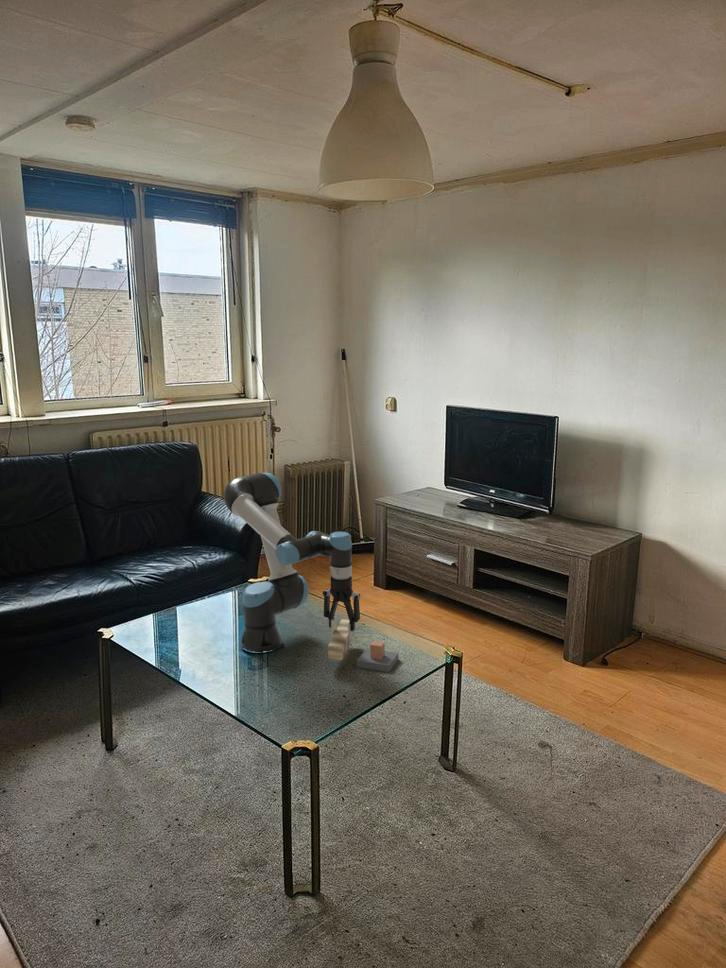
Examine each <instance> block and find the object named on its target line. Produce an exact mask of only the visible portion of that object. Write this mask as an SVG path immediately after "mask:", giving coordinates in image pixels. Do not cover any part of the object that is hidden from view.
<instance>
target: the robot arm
mask: <svg viewBox="0 0 726 968" xmlns="http://www.w3.org/2000/svg"><path fill="white" fill-rule="evenodd" d="M223 491H224V492H223V501H224V505H225V506H226V507H227V509H228V510H229V511H230V513H231V514H232V515H234V516H235V517H240V518H241V519H242V520H243V521H244V522H246V523H247V524H248V526H250V527H251V528H252V529H253V530H254V531H255V533H257V534H258V535H260V539H261V542H262V545H263V549H264V554H265V557H266V560H267V561H266V562H267V565H268V568H269V571H270V575H269V577H268V579H267V580H268V581H261V582H259V581H258V582H254V583H252V584H249V585H248V586H247V587H245V588H244V590H243V591H242V592H243V593H242V600H241V601H242V605H243V619H244V620H243V621H244V628H243V629H244V630H243V632H242V636H241V640H240V646H241V645H242V647H243V648H245V649H247V650H250V651H255V652H263V651H270V650H274V649H277V648H278V647H279V648H281V646H282V637H281V633H280V632H279V631H280V630H279V628H278V626H277V619H276V616H277V615H279V614H280V615H281V614H282V613H284V612H287V611H290V610H293V609H297V608H299V607H301V606H303V605H304V604H305V603H306V602H307V600H308V597H309V586H308V582H307V580H306V579H305V577H304V576H302V575H300V574H299V572H298V571H297V570H296V569H294V568H293V565H294V564H297V563H298V562H301V561H302V562H303V561H305V560H306V561H307V560H309V559H312V558H315V557H319V556H324V557H328V558H329V561H330V562H329V565H330V573H329V574H330V588H329V589H328V588H327V589H325V590H323V591H322V596H323V617H324V618H327V619H328V626H329V628H330V629H331V630H330V631H331V633H330V635H331V638H332V637H333V635H334V633H335V631H336V629H337V617H335V615H336V611H337V607H338V604H339V603H340V602H341V603H343V606H345V607H344V608H345V611H346V614H347V616H348V620H349V622H348V640H351V639H352V640H353V638H354V636H353V631H354V630H355V631H356V623H358V622H359V621H361V620H360V619H361V609H360V598H361V594H360V593H356V592H354V591H353V577H352V575H353V569H352V567H353V565H352V563H353V561H352V559H353V558H352V557H353V556H352V549H353V543H352V535H351V534H350V533H349V532H346V531H334V532H332V533H330V534H328V533H324V532H322V531H316V530H312V531H310V532H308V534H306V535H305V537H301V538H298V539H297V538H296V537H294V536H293V535H292V534H291V533H290V532H289V531H288V530H287V529H285V528H284V527H283V526H282V525H281V521H280V518H279V514H278V511H277V509H278V506H279V504H280V503H279V502H280V501H279V499H280V498H281V496H282V487H281V482H280V480H279V479H278V478H277V477H276V476H275V475H274V474H273V473H270V472H258V473H254V474H249V475H243V476H238V477H235V478H233V479H231V480H230V481H229V482H228V483H227V484H226V486H225V488H224V490H223ZM331 596H332V597H333V599H332V603H331ZM351 597H352V600H353V602H352V601H351ZM352 603H353V604H352ZM330 604H331V605H330ZM352 605H353V606H352ZM352 640H351V641H352ZM279 648H278V649H279ZM278 649H277V650H278ZM274 651H275V650H274Z"/></svg>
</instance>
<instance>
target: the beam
mask: <svg viewBox="0 0 726 968" xmlns="http://www.w3.org/2000/svg"><path fill="white" fill-rule="evenodd" d="M348 622H349V619H344V618H343V619H341V618H340V621H339V624H338V626H336V631H335V633H334V635H333V637H331V639H330V641H329V643H328V645H327V652H328V653H327V654H328V655H327V657H328V660H338V661H343V660H344V658H345V655H346V653H347V651H348V648H349V646H350V645H351V642H352V641H353V638H352V639H351V640H348ZM355 633H356V629H355V630H354V631H353V637H354V635H355Z"/></svg>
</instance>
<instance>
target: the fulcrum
mask: <svg viewBox="0 0 726 968" xmlns="http://www.w3.org/2000/svg"><path fill="white" fill-rule="evenodd" d="M385 648H386V647H385V641H380V640H379V641H378V640H373V641H372V642H371V644H369V648H366V649H365V650H364V651H363V652H362V654H361V655H360V656H359V657H358V658H357V659H356V668H362V669H365V670H366V669H367V670H373V671H380V672H385V673H386V672H387V673H390V672H391V670H392V669H393V668H394V667H395V665H396V664H397V663H398V661H399V652H395V651H394V652H393V651H388V650H387V651H386V649H385Z"/></svg>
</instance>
